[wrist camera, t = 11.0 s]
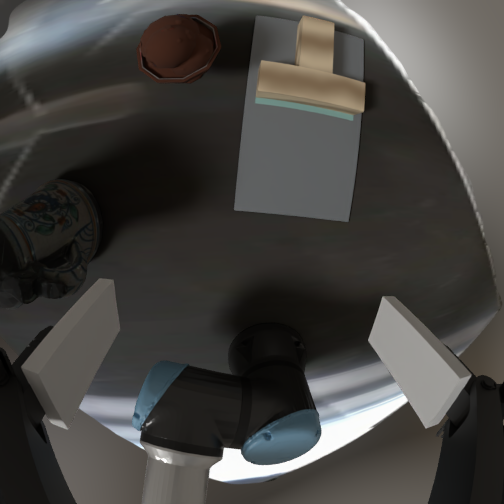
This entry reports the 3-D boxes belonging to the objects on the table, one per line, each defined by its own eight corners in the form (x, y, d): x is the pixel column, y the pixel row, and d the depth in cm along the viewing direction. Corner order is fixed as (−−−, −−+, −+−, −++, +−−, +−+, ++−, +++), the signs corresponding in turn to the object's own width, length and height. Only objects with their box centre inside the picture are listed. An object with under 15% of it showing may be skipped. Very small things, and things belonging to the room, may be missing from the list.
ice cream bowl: (235, 76, 36) (237, 36, 21) (172, 111, 37) (143, 87, 23) (204, 30, 32) (193, -19, 18) (143, 64, 34) (108, 28, 19)
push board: (347, 221, 44) (348, 222, 44) (234, 209, 42) (234, 210, 42) (362, 40, 34) (363, 39, 33) (255, 16, 32) (256, 15, 32)
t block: (353, 115, 38) (363, 111, 34) (255, 97, 37) (257, 90, 33) (355, 41, 34) (365, 33, 30) (264, 20, 32) (267, 9, 28)
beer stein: (30, 191, 38) (-67, 223, 14) (109, 161, 38) (1, 172, 15) (51, 271, 43) (-28, 339, 20) (130, 256, 44) (55, 343, 20)
